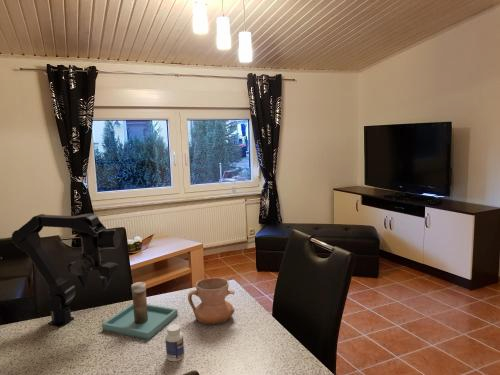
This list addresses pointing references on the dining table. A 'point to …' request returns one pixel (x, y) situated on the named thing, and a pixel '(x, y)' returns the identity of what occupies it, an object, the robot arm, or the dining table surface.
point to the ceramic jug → (212, 301)
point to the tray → (147, 330)
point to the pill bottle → (174, 343)
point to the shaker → (139, 302)
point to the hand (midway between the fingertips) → (95, 289)
